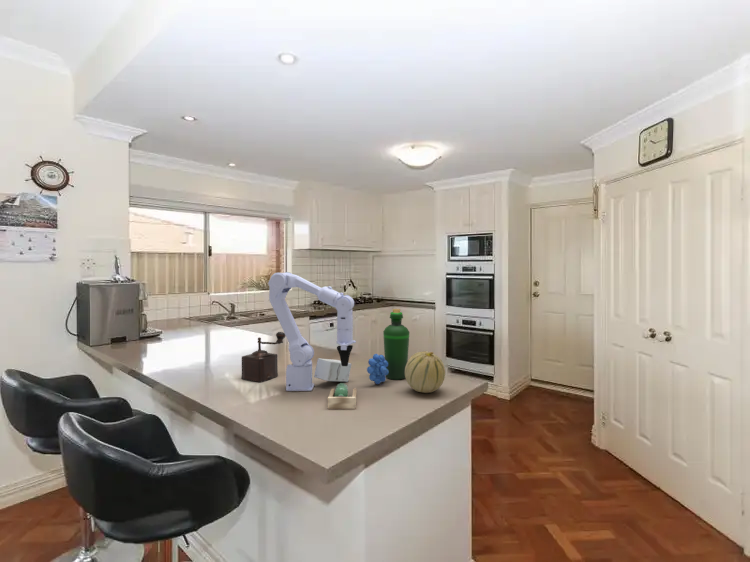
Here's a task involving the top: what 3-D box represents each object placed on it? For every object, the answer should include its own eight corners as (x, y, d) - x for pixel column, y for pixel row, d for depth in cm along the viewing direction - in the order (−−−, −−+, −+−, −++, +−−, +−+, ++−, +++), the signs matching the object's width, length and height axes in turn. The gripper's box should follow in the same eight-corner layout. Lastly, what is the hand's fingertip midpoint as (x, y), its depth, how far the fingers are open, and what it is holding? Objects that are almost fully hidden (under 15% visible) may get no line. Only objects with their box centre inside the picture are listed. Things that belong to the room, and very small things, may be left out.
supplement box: (348, 382, 160) (327, 381, 150) (335, 377, 164) (313, 377, 154) (352, 363, 161) (331, 361, 151) (338, 359, 165) (317, 357, 155)
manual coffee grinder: (261, 383, 158) (261, 337, 157) (240, 379, 163) (240, 334, 162) (287, 373, 171) (287, 331, 171) (268, 370, 177) (267, 329, 176)
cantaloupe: (410, 384, 157) (411, 345, 156) (448, 388, 152) (449, 348, 151) (399, 395, 143) (399, 353, 143) (440, 400, 138) (440, 356, 137)
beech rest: (327, 408, 130) (327, 398, 129) (331, 395, 143) (331, 385, 143) (355, 408, 130) (355, 397, 130) (356, 395, 143) (356, 385, 143)
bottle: (409, 374, 171) (409, 308, 170) (409, 381, 160) (409, 310, 159) (384, 373, 172) (384, 307, 171) (382, 380, 161) (382, 310, 160)
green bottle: (338, 397, 144) (337, 408, 132) (333, 385, 143) (331, 396, 132) (349, 392, 144) (349, 403, 132) (345, 380, 143) (344, 390, 132)
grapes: (376, 389, 149) (376, 357, 149) (363, 386, 154) (363, 354, 154) (396, 383, 158) (396, 352, 158) (383, 379, 163) (383, 350, 162)
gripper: (355, 332, 141) (355, 370, 141) (356, 325, 155) (356, 361, 156) (334, 332, 141) (334, 370, 141) (338, 325, 155) (337, 361, 156)
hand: (344, 365), depth 148 cm, fingers closed
